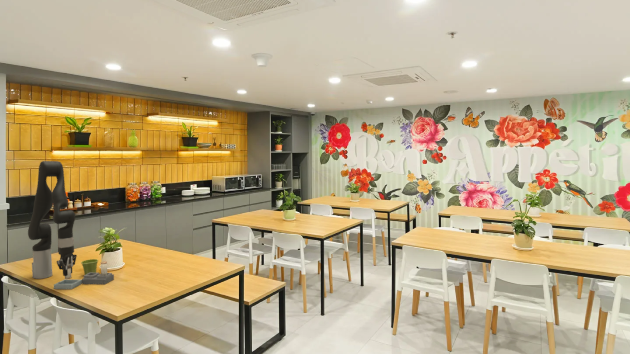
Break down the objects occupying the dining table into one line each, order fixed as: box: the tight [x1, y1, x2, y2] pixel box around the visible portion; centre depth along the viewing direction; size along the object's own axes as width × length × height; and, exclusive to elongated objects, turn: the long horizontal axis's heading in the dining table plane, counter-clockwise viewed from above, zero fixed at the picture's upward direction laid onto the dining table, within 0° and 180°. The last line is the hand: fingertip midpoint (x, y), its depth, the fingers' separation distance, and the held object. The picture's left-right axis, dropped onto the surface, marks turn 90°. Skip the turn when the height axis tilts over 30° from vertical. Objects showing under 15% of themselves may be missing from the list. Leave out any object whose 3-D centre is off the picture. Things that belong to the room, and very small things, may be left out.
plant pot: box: [80, 258, 99, 275], centre depth 238 cm, size 9×9×9 cm
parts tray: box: [53, 278, 83, 290], centre depth 217 cm, size 11×9×3 cm
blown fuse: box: [64, 262, 73, 279], centre depth 217 cm, size 3×3×9 cm
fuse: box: [100, 260, 108, 276], centre depth 224 cm, size 3×3×9 cm
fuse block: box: [81, 272, 115, 285], centre depth 225 cm, size 14×9×4 cm, turn 87°
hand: (67, 274), depth 217 cm, fingers closed on blown fuse, 3 cm apart
